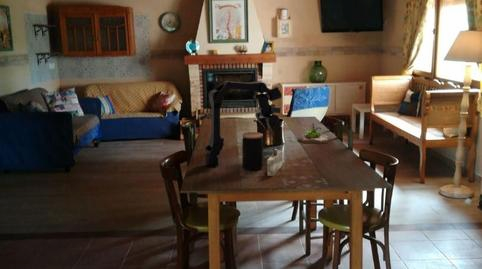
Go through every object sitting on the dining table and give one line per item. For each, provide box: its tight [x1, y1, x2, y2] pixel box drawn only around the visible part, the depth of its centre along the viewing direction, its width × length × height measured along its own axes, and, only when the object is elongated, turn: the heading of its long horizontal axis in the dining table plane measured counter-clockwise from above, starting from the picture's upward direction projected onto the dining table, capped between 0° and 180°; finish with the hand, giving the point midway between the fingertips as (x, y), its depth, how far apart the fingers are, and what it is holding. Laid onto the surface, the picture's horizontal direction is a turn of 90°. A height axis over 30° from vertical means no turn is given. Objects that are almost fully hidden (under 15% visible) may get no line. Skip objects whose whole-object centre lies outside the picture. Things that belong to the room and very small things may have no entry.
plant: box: [297, 122, 330, 144], centre depth 302 cm, size 20×20×11 cm
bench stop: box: [266, 148, 284, 177], centre depth 238 cm, size 3×20×11 cm, turn 162°
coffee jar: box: [241, 131, 264, 172], centre depth 241 cm, size 11×11×18 cm
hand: (270, 130), depth 258 cm, fingers open, 9 cm apart
